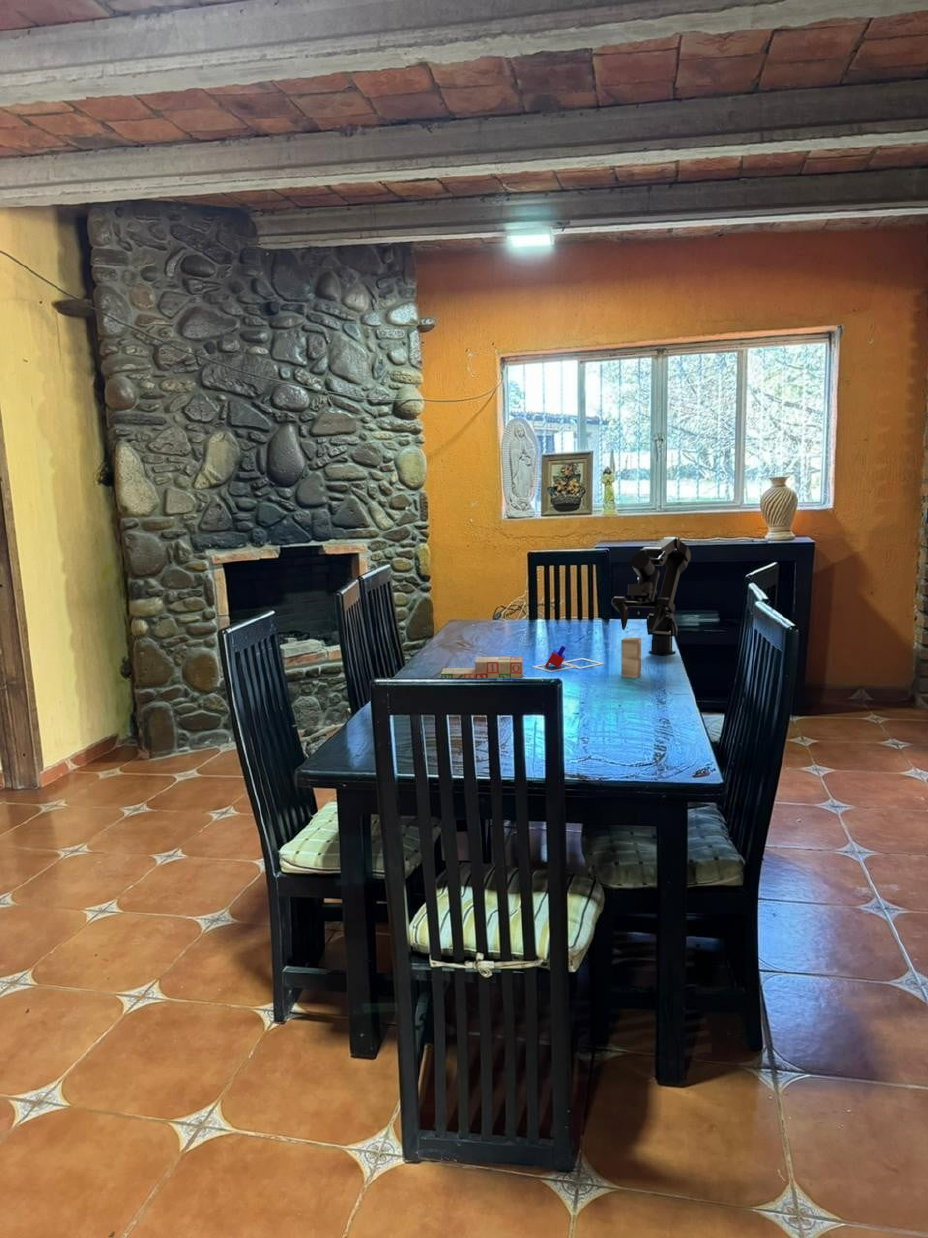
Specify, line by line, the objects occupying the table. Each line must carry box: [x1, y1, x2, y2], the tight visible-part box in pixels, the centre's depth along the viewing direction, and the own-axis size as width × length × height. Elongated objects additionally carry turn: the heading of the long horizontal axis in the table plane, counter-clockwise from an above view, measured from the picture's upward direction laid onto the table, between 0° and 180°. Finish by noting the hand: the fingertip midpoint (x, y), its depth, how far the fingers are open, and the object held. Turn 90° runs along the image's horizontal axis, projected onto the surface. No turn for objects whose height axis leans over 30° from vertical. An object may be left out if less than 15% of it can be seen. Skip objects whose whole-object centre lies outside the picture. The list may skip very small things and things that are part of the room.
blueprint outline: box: [531, 657, 606, 673], centre depth 254 cm, size 20×12×1 cm, turn 123°
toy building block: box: [544, 645, 567, 669], centre depth 252 cm, size 4×4×8 cm
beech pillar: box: [620, 636, 642, 679], centre depth 238 cm, size 4×4×11 cm
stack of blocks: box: [440, 656, 524, 679], centre depth 213 cm, size 21×6×12 cm, turn 85°
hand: (637, 630), depth 245 cm, fingers open, 9 cm apart
